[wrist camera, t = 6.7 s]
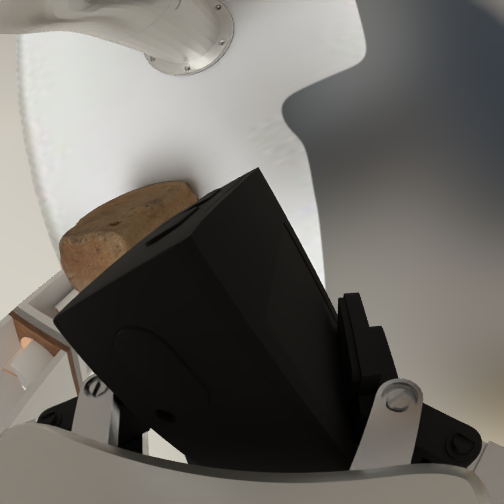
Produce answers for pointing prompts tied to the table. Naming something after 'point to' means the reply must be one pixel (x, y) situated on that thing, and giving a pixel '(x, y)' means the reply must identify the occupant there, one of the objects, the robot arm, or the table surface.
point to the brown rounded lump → (119, 228)
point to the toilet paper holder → (37, 356)
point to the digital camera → (221, 337)
